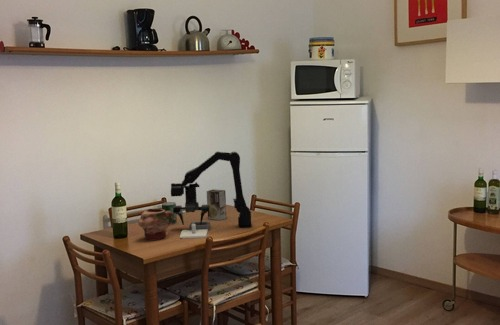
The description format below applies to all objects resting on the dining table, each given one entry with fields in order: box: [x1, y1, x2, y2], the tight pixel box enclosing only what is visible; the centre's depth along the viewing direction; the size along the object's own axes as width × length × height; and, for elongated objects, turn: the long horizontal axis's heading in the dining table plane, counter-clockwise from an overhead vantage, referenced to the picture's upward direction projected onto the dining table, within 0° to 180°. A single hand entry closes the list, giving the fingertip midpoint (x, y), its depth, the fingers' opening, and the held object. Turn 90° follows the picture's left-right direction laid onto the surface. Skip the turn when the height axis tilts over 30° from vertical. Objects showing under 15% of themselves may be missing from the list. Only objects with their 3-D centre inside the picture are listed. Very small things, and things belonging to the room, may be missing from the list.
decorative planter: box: [138, 208, 174, 241], centre depth 275 cm, size 20×12×14 cm, turn 137°
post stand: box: [179, 224, 209, 239], centre depth 277 cm, size 13×13×6 cm
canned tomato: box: [161, 201, 178, 225], centre depth 305 cm, size 8×8×11 cm
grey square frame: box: [189, 220, 211, 231], centre depth 290 cm, size 10×10×2 cm
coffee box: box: [206, 188, 227, 221], centre depth 311 cm, size 9×6×16 cm
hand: (192, 224), depth 290 cm, fingers open, 9 cm apart
